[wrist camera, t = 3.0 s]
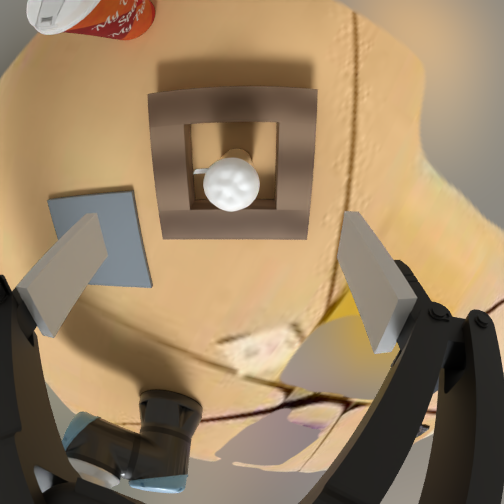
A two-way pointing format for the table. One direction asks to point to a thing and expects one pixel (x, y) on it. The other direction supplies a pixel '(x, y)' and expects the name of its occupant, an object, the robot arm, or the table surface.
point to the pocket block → (233, 110)
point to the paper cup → (92, 17)
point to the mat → (109, 235)
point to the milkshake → (231, 181)
